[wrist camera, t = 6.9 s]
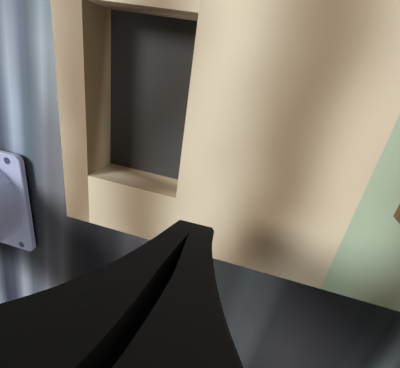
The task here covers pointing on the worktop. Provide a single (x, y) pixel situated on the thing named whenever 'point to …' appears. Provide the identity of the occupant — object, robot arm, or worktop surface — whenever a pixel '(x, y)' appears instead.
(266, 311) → the worktop surface
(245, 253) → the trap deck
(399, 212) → the walnut block
